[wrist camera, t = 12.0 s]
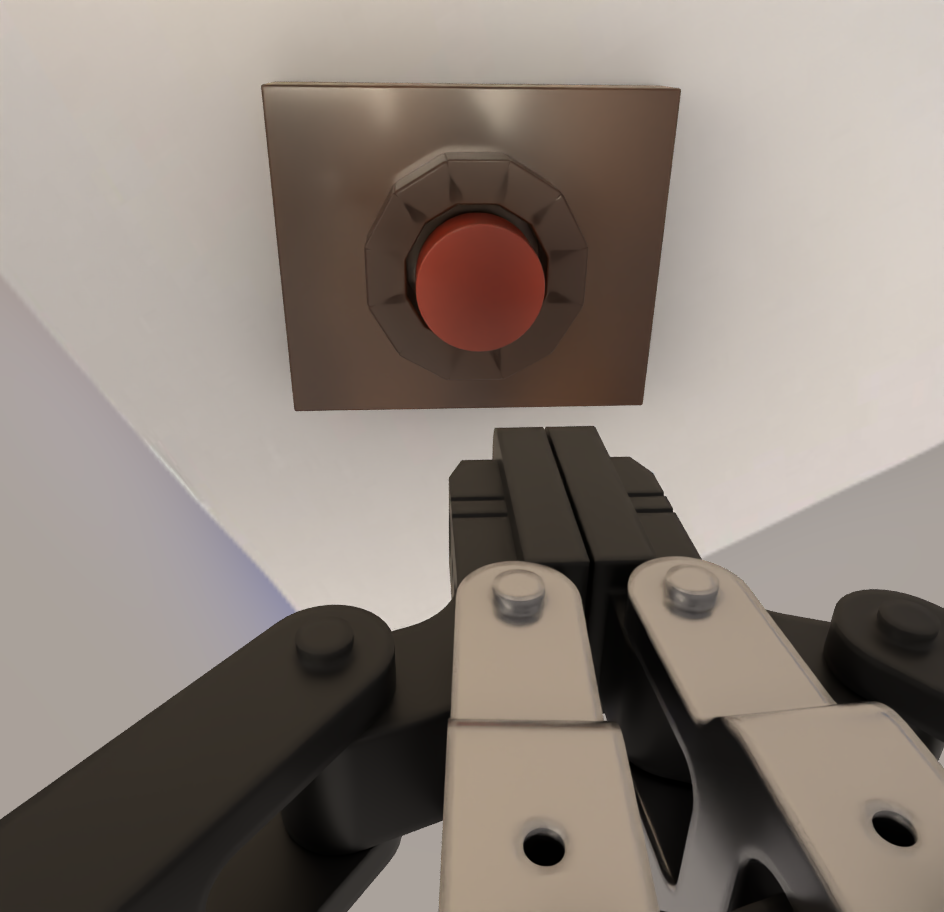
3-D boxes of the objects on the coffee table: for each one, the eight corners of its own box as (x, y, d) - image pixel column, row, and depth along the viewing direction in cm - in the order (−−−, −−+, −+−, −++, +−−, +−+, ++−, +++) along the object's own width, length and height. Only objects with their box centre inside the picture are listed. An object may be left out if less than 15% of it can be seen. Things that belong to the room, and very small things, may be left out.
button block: (302, 386, 28) (286, 435, 25) (273, 81, 24) (248, 86, 20) (627, 382, 29) (657, 428, 25) (660, 85, 24) (702, 90, 21)
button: (416, 333, 24) (417, 353, 22) (414, 211, 22) (414, 224, 21) (533, 332, 24) (541, 351, 22) (539, 211, 22) (548, 223, 21)
